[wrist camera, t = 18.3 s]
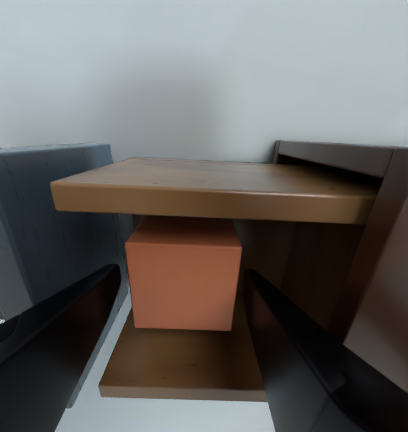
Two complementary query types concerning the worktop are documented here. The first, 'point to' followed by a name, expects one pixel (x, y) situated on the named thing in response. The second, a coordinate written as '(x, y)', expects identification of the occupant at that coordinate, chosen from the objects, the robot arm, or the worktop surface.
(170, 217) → the block
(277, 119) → the worktop surface
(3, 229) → the drawer
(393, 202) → the cabinet
